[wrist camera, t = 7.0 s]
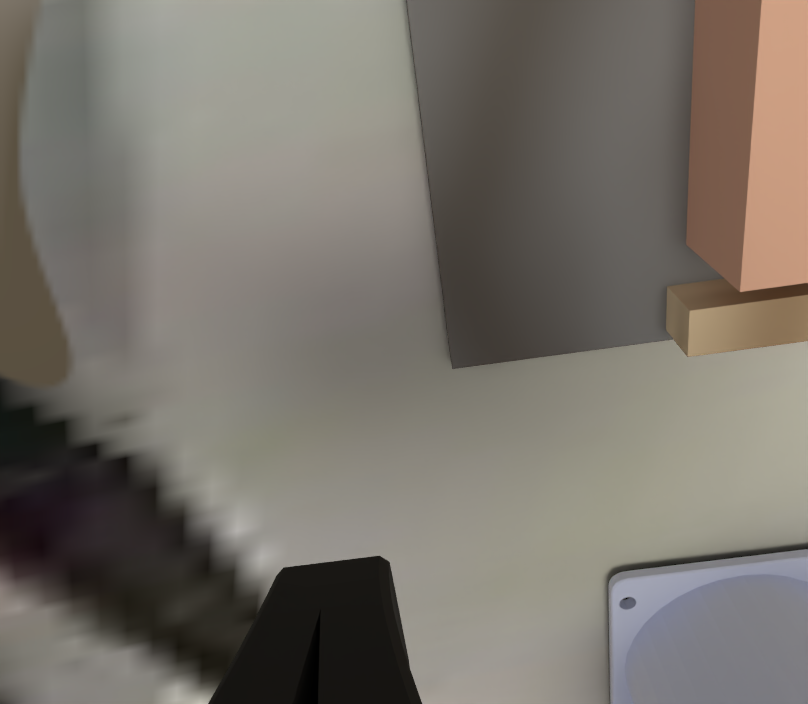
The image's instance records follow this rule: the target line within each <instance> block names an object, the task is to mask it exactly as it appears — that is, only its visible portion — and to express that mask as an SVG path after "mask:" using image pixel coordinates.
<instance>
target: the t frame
mask: <svg viewBox="0 0 808 704" xmlns="http://www.w3.org/2000/svg"><path fill="white" fill-rule="evenodd" d="M406 3H407V11H408V19H409V27H410V35H411V43H412V51H413V59H414V67H415V75H416V83H417V91H418V99H419V107H420V115H421V123H422V131H423V139H424V147H425V155H426V164H427V172H428V180H429V188H430V196H431V204H432V212H433V220H434V228H435V236H436V244H437V252H438V260H439V268H440V276H441V284H442V292H443V300H444V308H445V316H446V325H447V333H448V341H449V349H450V357H451V363H452V369H455V368H463V367H470V366H478V365H485V364H493V363H500V362H508V361H515V360H523V359H530V358H538V357H545V356H552V355H560V354H567V353H575V352H582V351H590V350H597V349H605V348H612V347H620V346H627V345H635V344H642V343H649V342H657V341H664V340H672V339H674V340H675V342H676V343H677V344H678V345H679V347H680V348H681V349H682V350H683V352H684V353H685V354H686V355H687V357H691V356H698V355H706V354H713V353H721V352H728V351H736V350H744V349H751V348H759V347H766V346H774V345H781V344H789V343H796V342H804V341H808V283H802V284H795V285H788V286H780V287H773V288H766V289H758V290H751V291H744V292H739V291H738V290H737V289H736V288H735V287H734V286H733V285H731V284H730V283H729V282H728V281H727V280H726V279H725V278H724V277H722V276H721V275H720V274H719V273H718V272H717V271H716V270H714V269H713V268H712V267H711V266H710V265H709V264H708V263H706V262H705V261H704V260H703V259H702V258H701V257H700V256H699V255H697V254H696V253H695V252H694V251H693V250H692V249H691V248H689V247H688V246H687V245H686V234H687V207H688V180H689V153H690V126H691V99H692V72H693V45H694V19H695V0H406Z"/></svg>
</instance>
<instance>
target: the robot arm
mask: <svg viewBox="0 0 808 704" xmlns="http://www.w3.org/2000/svg"><path fill="white" fill-rule="evenodd" d="M608 590H609V651H610V704H808V549H804V550H796V551H787V552H779V553H771V554H763V555H754V556H746V557H738V558H730V559H722V560H713V561H705V562H697V563H689V564H680V565H672V566H664V567H656V568H648V569H639V570H631V571H624V572H620V573H617V574H616V575H614V576H613V577H612V578H611V579H610V581H609V585H608ZM627 597H630V598H629V599H626V600H622V599H623V598H627ZM208 704H422V702H421V699H420V696H419V694H418V691H417V688H416V685H415V682H414V679H413V676H412V674H411V671H410V667H409V659H408V654H407V649H406V644H405V639H404V634H403V629H402V624H401V618H400V613H399V608H398V603H397V598H396V593H395V588H394V582H393V577H392V572H391V567H390V562H389V561H387V560H385V559H384V558H382V557H381V556H374V557H366V558H358V559H350V560H342V561H334V562H326V563H318V564H310V565H301V566H293V567H285V568H283V569H282V570H281V571H280V572H279V574H278V575H277V576H276V578H275V580H274V582H273V584H272V586H271V588H270V590H269V592H268V594H267V596H266V598H265V600H264V602H263V604H262V606H261V608H260V610H259V612H258V614H257V616H256V618H255V620H254V622H253V624H252V626H251V628H250V630H249V632H248V634H247V635H246V637H245V639H244V641H243V643H242V645H241V647H240V648H239V650H238V652H237V654H236V656H235V658H234V660H233V661H232V663H231V665H230V667H229V669H228V670H227V672H226V674H225V675H224V677H223V679H222V681H221V682H220V684H219V686H218V688H217V689H216V691H215V693H214V695H213V696H212V698H211V700H210V701H209V703H208Z"/></svg>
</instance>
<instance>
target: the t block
mask: <svg viewBox="0 0 808 704" xmlns="http://www.w3.org/2000/svg"><path fill="white" fill-rule="evenodd" d="M686 245H687V246H688V247H689V248H691V249H692V250H693V251H694V252H695V253H696V254H697V255H699V256H700V257H701V258H702V259H703V260H704V261H705V262H706V263H708V264H709V265H710V266H711V267H712V268H713V269H714V270H716V271H717V272H718V273H719V274H720V275H721V276H722V277H724V278H725V279H726V280H727V281H728V282H729V283H730V284H731V285H733V286H734V287H735V288H736V289H737V290H738V291H739V292H744V291H751V290H758V289H766V288H773V287H780V286H788V285H795V284H802V283H808V0H695V19H694V45H693V72H692V99H691V126H690V153H689V180H688V207H687V234H686Z"/></svg>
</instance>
